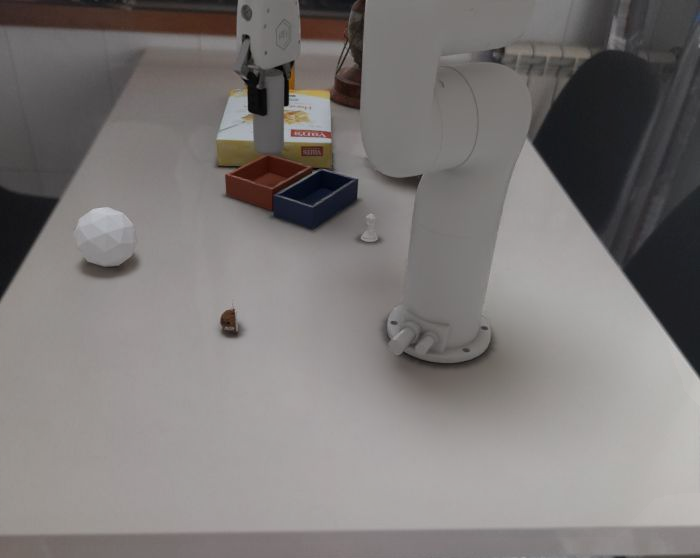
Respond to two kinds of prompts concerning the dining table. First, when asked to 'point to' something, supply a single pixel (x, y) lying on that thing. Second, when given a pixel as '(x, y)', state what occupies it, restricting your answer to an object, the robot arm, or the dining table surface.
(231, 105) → the cereal box
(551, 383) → the dining table surface
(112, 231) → the geometric ball
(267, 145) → the beverage can
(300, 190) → the navy bin
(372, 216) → the chess pawn
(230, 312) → the chocolate
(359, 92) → the lantern
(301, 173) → the terracotta bin
